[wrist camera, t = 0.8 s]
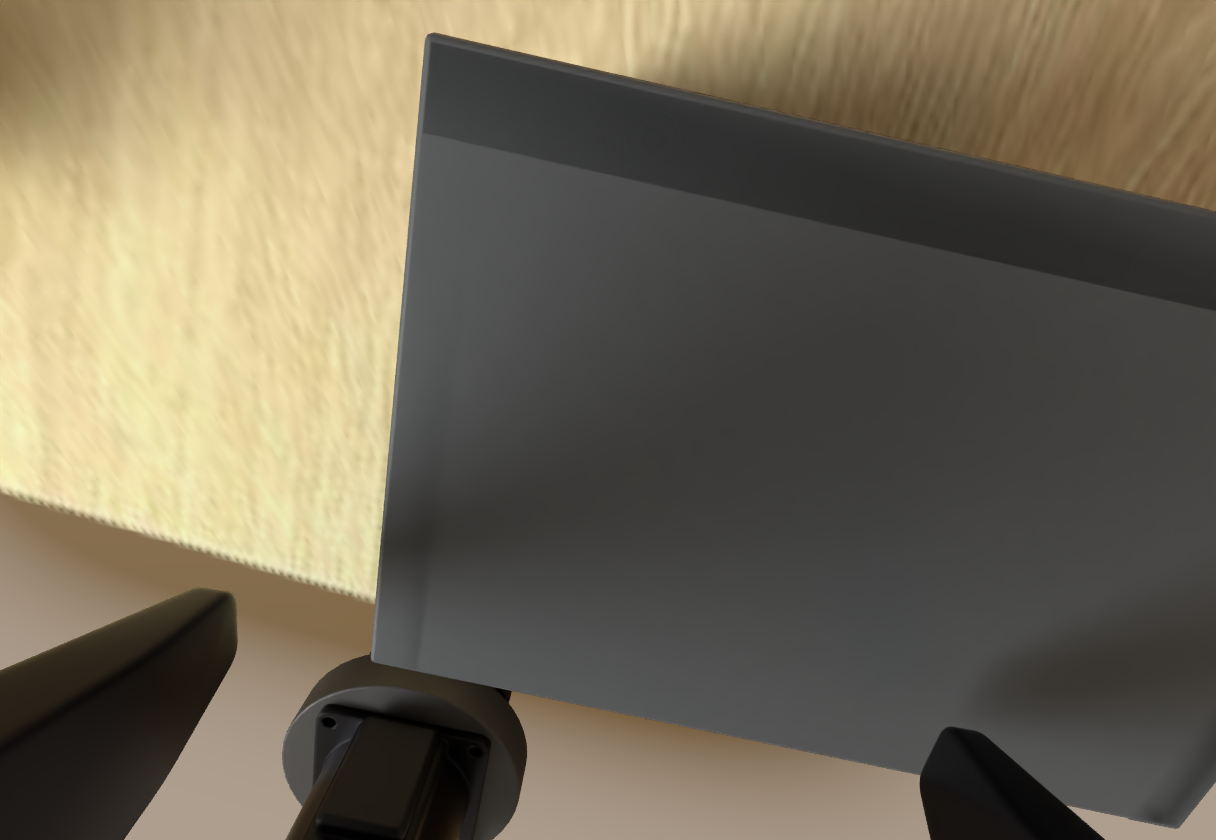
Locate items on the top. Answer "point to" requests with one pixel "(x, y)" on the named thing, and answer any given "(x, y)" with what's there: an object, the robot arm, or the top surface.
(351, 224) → the top surface
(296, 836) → the robot arm
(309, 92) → the top surface
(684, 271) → the basket
